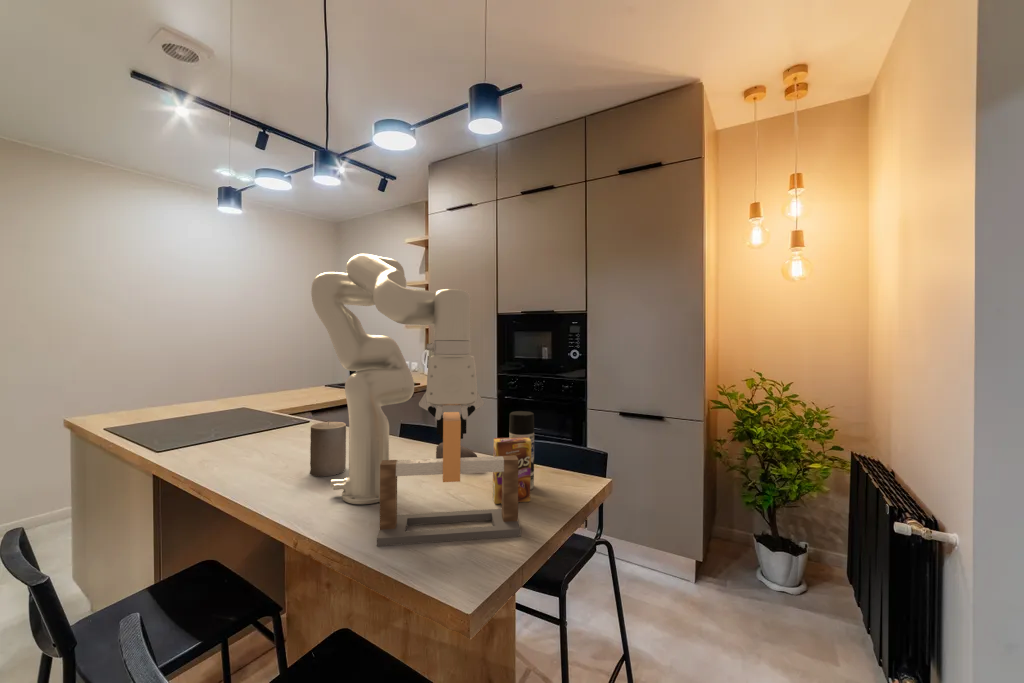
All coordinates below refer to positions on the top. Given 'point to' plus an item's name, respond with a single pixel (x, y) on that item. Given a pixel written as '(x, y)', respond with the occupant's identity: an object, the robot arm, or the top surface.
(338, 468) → the pillar candle
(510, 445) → the candy box
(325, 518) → the top surface
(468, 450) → the perforated stone tool
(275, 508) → the top surface
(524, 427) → the spray can
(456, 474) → the orange angular block
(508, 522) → the crossbar rack
